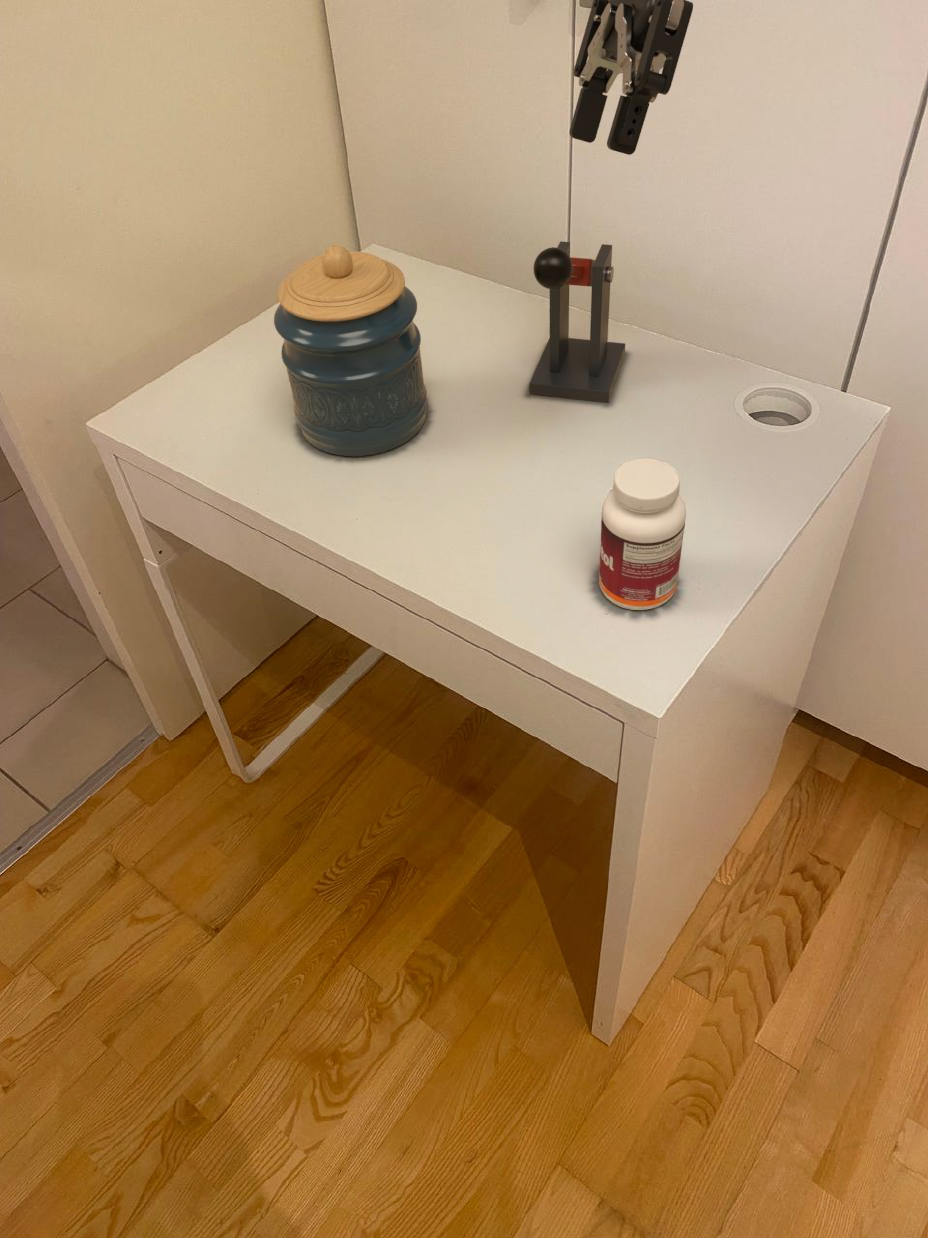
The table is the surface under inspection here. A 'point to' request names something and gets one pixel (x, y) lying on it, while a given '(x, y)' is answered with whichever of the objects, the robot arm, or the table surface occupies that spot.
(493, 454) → the table surface
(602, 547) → the pill bottle
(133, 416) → the table surface
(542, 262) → the lever
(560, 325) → the bracket
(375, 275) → the canister
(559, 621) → the table surface
